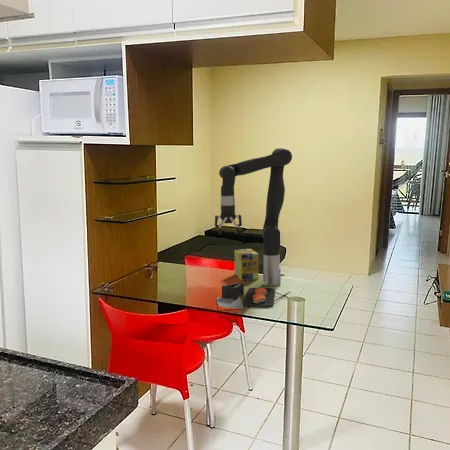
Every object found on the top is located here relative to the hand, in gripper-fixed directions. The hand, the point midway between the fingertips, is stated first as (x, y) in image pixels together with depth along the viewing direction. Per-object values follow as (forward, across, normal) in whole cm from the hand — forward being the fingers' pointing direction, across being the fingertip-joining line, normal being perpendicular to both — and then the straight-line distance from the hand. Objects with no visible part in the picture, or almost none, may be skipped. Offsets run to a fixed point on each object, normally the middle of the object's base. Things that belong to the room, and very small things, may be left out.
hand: (228, 234), depth 245 cm
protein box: (+30, -12, -24) cm, 41 cm away
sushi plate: (+31, -22, +20) cm, 43 cm away
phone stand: (+26, +2, +19) cm, 32 cm away
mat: (+30, +2, +25) cm, 39 cm away
